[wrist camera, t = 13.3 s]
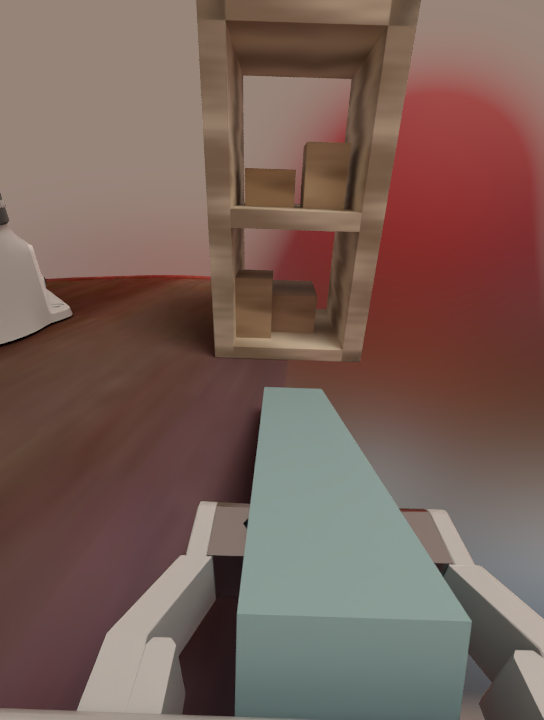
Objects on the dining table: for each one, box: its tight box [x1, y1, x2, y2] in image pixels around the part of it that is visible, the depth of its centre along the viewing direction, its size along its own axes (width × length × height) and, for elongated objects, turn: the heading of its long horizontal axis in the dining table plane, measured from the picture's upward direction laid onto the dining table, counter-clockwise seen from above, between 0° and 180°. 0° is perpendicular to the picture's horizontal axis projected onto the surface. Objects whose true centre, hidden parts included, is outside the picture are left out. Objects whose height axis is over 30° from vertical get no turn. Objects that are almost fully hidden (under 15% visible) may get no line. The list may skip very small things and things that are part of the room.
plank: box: [235, 387, 472, 720], centre depth 15 cm, size 18×4×2 cm, turn 179°
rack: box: [196, 0, 421, 362], centre depth 32 cm, size 12×14×26 cm
